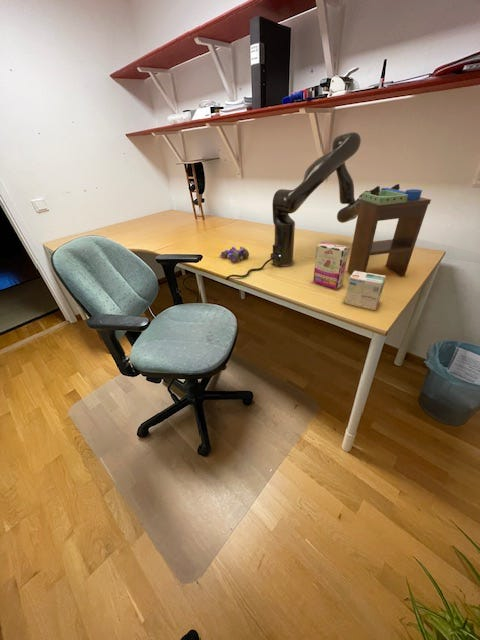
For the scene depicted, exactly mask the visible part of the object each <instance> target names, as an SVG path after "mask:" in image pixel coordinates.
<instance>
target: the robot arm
mask: <svg viewBox="0 0 480 640" xmlns="http://www.w3.org/2000/svg"><path fill="white" fill-rule="evenodd" d="M361 143H362V138H361V135H360V134H359V132H356V131H355V132H354V131H352V132H347V133H343V134H339V135H337V136H336V137H335V138H334V139H333V141H332V144H331V151H329V152H327V153H326V154H324V155H322V156H320V157H319V158H317V159H315V161H313V162H312V163H311V164H310V165H309V166H308V167H307V168H306V170H305V171H304V174H303V179H302V182H301V183H300V184H299V185H298V186H296V187H295V188H294V189H283V188H281V189H280V188H279V189H277V190H276V191H275V193H274V195H273V198H272V204H271V205H272V206H271V207H272V222H273V225H274V244H272V252H271V253H270V258H269V259H268V260H266V261H265V262H264V263H263V264H262V265H261V266H260V267H259V268H257V267H256V268H250V269H249V270H248V271H247V273H246V274H229V275H228V276H226V277H225V280H226V281H227V280H228V279H230V278H232V277H236V278H246V277H247V276H249V275H250V273H251V272H252V271H261V270H263V269H264V268H265V266H266V265H267V264H268V263H270V262H271V261H272V264H273V265H275V266H277V267H278V268H282V267H289V266H292V265H293V264H294V248H295V234H296V233H295V232H296V231H295V229H296V221H295V220H293V218H291V216H290V215H291V214H294V213H295V212H297V211H298V210H299V209H300V208H301V207H302V205H303V204H304V203H305V201H307V199H308V198H309V197H310V196H311V194H313V192H314V191H316V190H317V188H318V187H320V186H322V184H323V183H324V182H325V181H326V180H327V179H328V178H329V177H330V176H331V175H332V174H333V173H335V172H336V177H337V182H338V195H339V203H340V205H347V206H345V207H343V208H341V209H339V210H338V211H337V214H336V219H337V222H339V223H341V224H344V223H345V224H346V223H347V222H350V221H353V220H355V219H357V217H358V212H359V206H360V204H359V202H360V199H361V198H362V193H361V194H360V195H359V196H358V198H356V197H355V183H354V179H353V177H352V176H351V173H350V172H349V170H348V168H347V165H346V161H348V160H349V159H351V158H352V157H353V156H354V155H355V154H356V153H357V152H358V151H359V149H360V146H361ZM390 188H391V189H395V190H400V183H397V184H394V185H393V186H392V187H390ZM380 191H381V187H380V185H377V186H375V187H374V188H373V189H369V190H365V191H364V192H371V194H372V195H376V196H379V192H380ZM289 214H290V215H289Z"/></svg>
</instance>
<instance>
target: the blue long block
mask: <svg viewBox="0 0 480 640" xmlns="http://www.w3.org/2000/svg"><path fill="white" fill-rule="evenodd" d="M391 188H392V187H380V191H382V190H389V191H394V192H398V193H402V194H407V195H408V198H407V200H419V199H420V197H422V193H423V189H417V188H416V189H414V188H410V189H406V190H400V189H399V190H395V189H391Z"/></svg>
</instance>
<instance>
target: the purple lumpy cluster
mask: <svg viewBox="0 0 480 640" xmlns="http://www.w3.org/2000/svg"><path fill="white" fill-rule="evenodd" d="M219 257H220V258H222V259H224V260H225V259H227V260H230V262H231V263H232V264H236V263H239V261H242V260H245V259H248V258H249V257H250V253H249V250H248V249H246V247H243V246H239V249H237V248H236V247H234V246H231V248H230V249H225V250H224V251H222V252H221V253H220V255H219Z"/></svg>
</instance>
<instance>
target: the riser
mask: <svg viewBox="0 0 480 640" xmlns="http://www.w3.org/2000/svg"><path fill="white" fill-rule="evenodd" d="M431 201H432V199H431V198H425V197H422V196H420V199H419V200H407V202H404V203H395V204H386V205H378V204H375V203H371V202H368V201H365V200H362V199H360V202H359V204H360V206H359V212H358V216H357V217H356V222H355V223H356V224H355V227H354V233H353V238H352V243H351V250H350V255H349V260H348V265H347V266H348V267H347V269H346V272H347V273H348V274H349V275H350V276H351V275H352V273H353V272H354V271H359V272H365V273H367V269H368V265H369V260H370V256H378V255H385V254H388V256H387V259H386V262H385V266H384V267H385V268H387V269H388V270H390V271H392V273H395V274H397V276H399V277H405V276H406V274H407V273H406V272H407V270H408V267H409V264H410V261H411V257H412V255H413V252H414V249H415V246H416V243H417V239H418V237H419V234H420V231H421V227H422V225H423V222H424V218H425V216H426V213H427V210H428V206H429V205H430V204H431ZM389 220H397V223H396V227H395V231H394V234H393V236H392V239H384V240H375V241H374V239H375V235H376V232H377V231H376V230H377V226H378V222H381V221H389Z"/></svg>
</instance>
